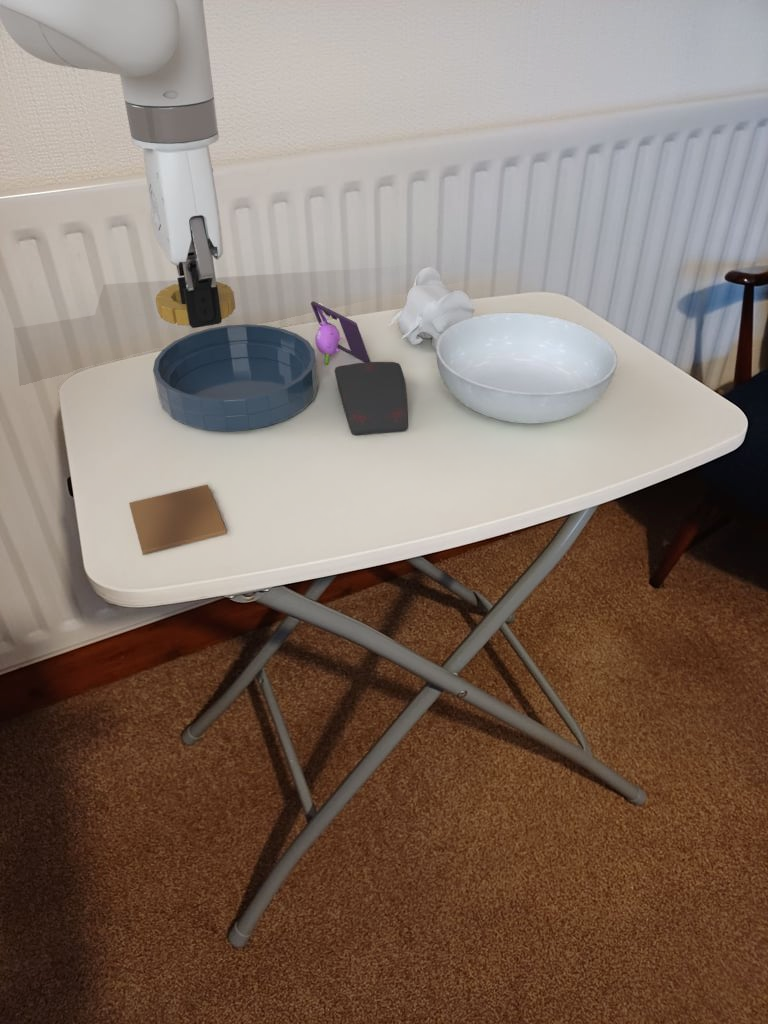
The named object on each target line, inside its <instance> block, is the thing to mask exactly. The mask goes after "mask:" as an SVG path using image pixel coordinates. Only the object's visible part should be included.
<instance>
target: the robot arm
mask: <svg viewBox="0 0 768 1024" xmlns="http://www.w3.org/2000/svg"><path fill="white" fill-rule="evenodd" d="M0 20H1V21H0V22H1V23H2V25H3V27H4V29H5V30H6V32H7V34H8V35H9V36H10V38H11V39H12V40H13V42H14V43H16V44H17V45H18V47H20V48H21V49H22V50H23V51H25V52H26V53H28V54H29V55H30V56H32V57H34V58H36V59H38V60H40V61H43V62H46V63H49V64H52V65H56V66H61V67H68V68H72V69H77V70H78V69H80V70H87V71H88V70H89V71H96V72H101V73H107V74H114V75H119V78H120V83H121V88H122V93H123V99H124V104H125V105H124V106H125V110H126V115H127V121H128V127H129V132H130V136H131V143H132V144H133V145H134V146H136V147H139V148H141V149H142V150H143V151H142V152H143V161H144V169H145V177H146V184H147V191H148V197H149V205H150V211H151V219H152V226H153V227H152V228H153V232H154V236H155V239H156V241H157V243H158V245H159V246H160V248H161V250H162V252H163V253H164V255H165V257H166V258H167V260H168V261H169V262H170V263H171V264H172V265H174V266H176V270H177V274H178V276H179V277H177V283H178V285H179V291H180V297H181V303H182V304H186V307H187V314H188V320H189V324H190V325H189V326H190V328H192V329H198V328H203V327H209V326H215V325H220V324H221V323H222V320H223V319H222V318H221V310H220V303H219V295H218V288H217V284H216V282H217V279H216V271H215V264H214V259H215V260H219V259H220V258H221V257H222V255H223V254H224V253H223V252H224V250H223V247H224V246H223V236H222V235H223V234H222V228H221V227H222V225H221V219H220V211H219V204H218V197H217V189H216V184H215V177H214V168H213V164H212V160H211V158H212V157H211V153H210V147H209V145H212V144H214V143H216V142H218V140H219V138H220V136H219V128H218V127H219V126H218V119H217V110H216V104H215V101H216V100H215V94H214V93H215V92H214V85H213V76H212V68H211V67H212V66H211V58H210V51H209V43H208V33H207V25H206V17H205V8H204V0H0Z"/></svg>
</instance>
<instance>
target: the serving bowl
mask: <svg viewBox="0 0 768 1024" xmlns="http://www.w3.org/2000/svg"><path fill="white" fill-rule="evenodd" d="M435 355H436V364H437V368H438V372H439V374H440V377H441V379H442V382H443V384H444V385H445V386H446V388H447V389H448V390H449V392H450V393H451V394H452V396H453V397H454V398H455V399H457V400H458V401H459V402H460V403H461V404H463V405H464V406H466V407H468V408H469V409H471V410H473V411H475V412H477V413H479V414H482V415H483V416H486V417H489V418H492V419H496V420H499V421H504V422H510V423H518V424H544V423H551V422H556V421H562V420H564V419H568V418H571V417H573V416H576V415H577V414H579V413H582V412H584V411H585V410H587V409H588V408H590V407H591V406H592V405H594V404H595V403H596V402H597V401H598V400H599V399H600V398H601V397H602V396H603V394H604V393H605V392H606V391H607V389H608V388H609V386H610V384H611V382H612V380H613V378H614V376H615V373H616V370H617V368H618V363H619V362H618V355H617V352H616V350H615V348H614V347H613V346H612V344H611V343H610V341H608V340H607V339H606V338H604V337H603V336H602V335H601V334H599V333H597V332H596V331H594V330H593V329H591V328H589V327H587V326H585V325H581V324H579V323H577V322H574V321H571V320H568V319H565V318H561V317H557V316H552V315H547V314H542V313H541V314H540V313H533V312H532V313H531V312H515V311H514V312H511V311H510V312H493V313H487V314H486V313H485V314H481V315H476V316H472V318H469V319H466V320H463V321H460V322H458V323H456V324H454V325H452V326H451V327H449V328H448V329H447V330H445V331H444V332H443V333H442V335H441V336H440V337H439V339H438V341H437V345H436V348H435Z"/></svg>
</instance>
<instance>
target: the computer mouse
mask: <svg viewBox="0 0 768 1024" xmlns="http://www.w3.org/2000/svg"><path fill="white" fill-rule="evenodd" d="M334 375H335V379H336V383H337V389H338V392H339V396H340V400H341V404H342V407H343V411H344V414H345V417H346V421H347V424H348V428H349V430H350V433H351V434H352V435H353V436H363V435H375V434H385V433H386V434H387V433H399V432H405V431H408V429H409V411H408V410H409V409H408V393H407V385H406V379H405V375H404V372H403V368H402V366H401V364H400V363H399V362H395V361H370V362H357V363H350V364H349V363H348V364H344V365H339V366H336V367H335V368H334Z"/></svg>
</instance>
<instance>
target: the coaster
mask: <svg viewBox="0 0 768 1024" xmlns="http://www.w3.org/2000/svg"><path fill="white" fill-rule="evenodd" d="M128 504H129V509H130V512H131V517H132V519H133V523H134V528H135V530H136V534H137V539H138V542H139V545H140V550H141V554H142V556H145V555H148V554H153V553H156V552H160V551H165V550H168V549H172V548H176V547H180V546H184V545H188V544H192V543H197V542H200V541H204V540H208V539H211V538H216V537H219V536H223V535H226V534H227V529H226V527H225V524H224V521H223V519H222V516H221V514H220V511H219V509H218V506H217V504H216V502H215V499H214V497H213V494H212V492H211V489H210V487H209V485H208V484H204V485H199V486H195V487H191V488H187V489H182V490H178V491H174V492H169V493H165V494H161V495H156V496H152V497H147V498H143V499H139V500H135V501H130V502H128Z"/></svg>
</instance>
